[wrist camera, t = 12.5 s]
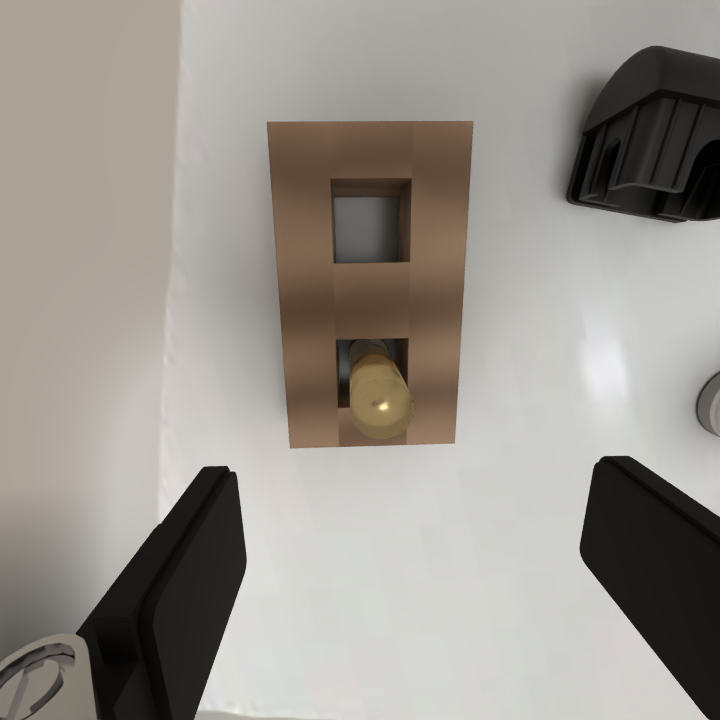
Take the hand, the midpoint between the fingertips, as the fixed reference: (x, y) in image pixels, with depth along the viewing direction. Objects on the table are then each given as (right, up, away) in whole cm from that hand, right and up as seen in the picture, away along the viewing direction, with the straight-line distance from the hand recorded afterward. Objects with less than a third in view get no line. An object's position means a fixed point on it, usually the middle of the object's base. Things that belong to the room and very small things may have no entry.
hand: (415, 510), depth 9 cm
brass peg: (-1, +4, +18) cm, 18 cm away
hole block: (-1, +9, +17) cm, 19 cm away
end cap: (+18, +18, +15) cm, 30 cm away
